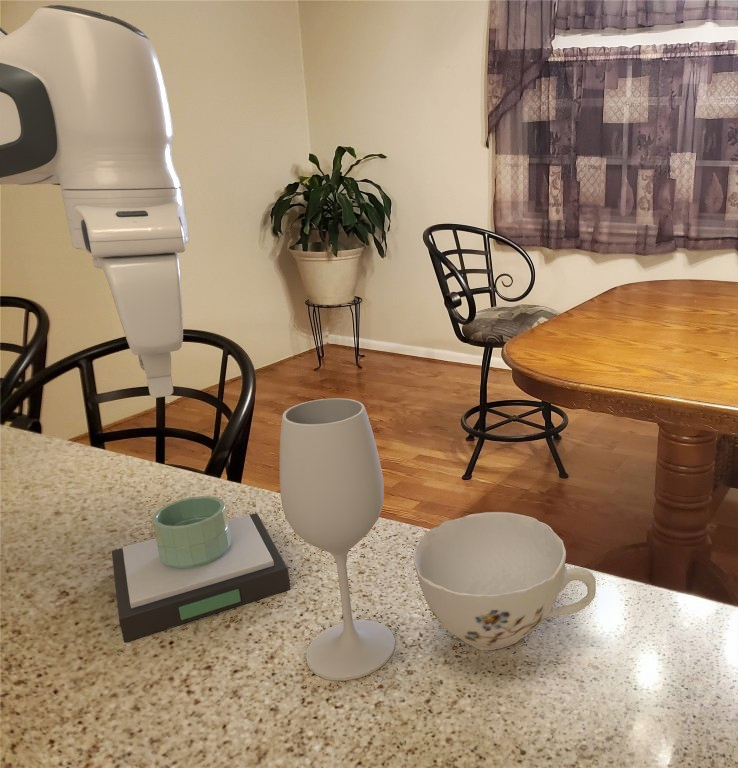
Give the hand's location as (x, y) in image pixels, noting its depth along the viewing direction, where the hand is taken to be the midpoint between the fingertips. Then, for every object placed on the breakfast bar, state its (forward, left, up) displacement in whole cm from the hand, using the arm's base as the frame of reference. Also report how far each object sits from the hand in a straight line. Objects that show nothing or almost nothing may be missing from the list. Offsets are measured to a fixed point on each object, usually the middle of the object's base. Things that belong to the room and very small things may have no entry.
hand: (156, 380), depth 62 cm
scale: (+1, -2, -20) cm, 20 cm away
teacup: (+22, -25, -20) cm, 39 cm away
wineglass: (+10, -20, -20) cm, 30 cm away
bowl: (+1, -2, -17) cm, 17 cm away
